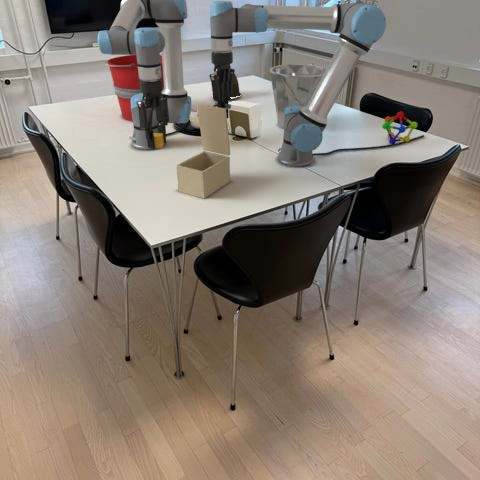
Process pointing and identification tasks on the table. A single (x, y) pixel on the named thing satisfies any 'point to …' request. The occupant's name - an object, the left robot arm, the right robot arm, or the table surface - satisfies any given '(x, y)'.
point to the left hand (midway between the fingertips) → (157, 145)
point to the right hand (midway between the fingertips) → (223, 118)
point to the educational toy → (398, 128)
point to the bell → (235, 87)
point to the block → (158, 140)
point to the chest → (203, 174)
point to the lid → (214, 128)
